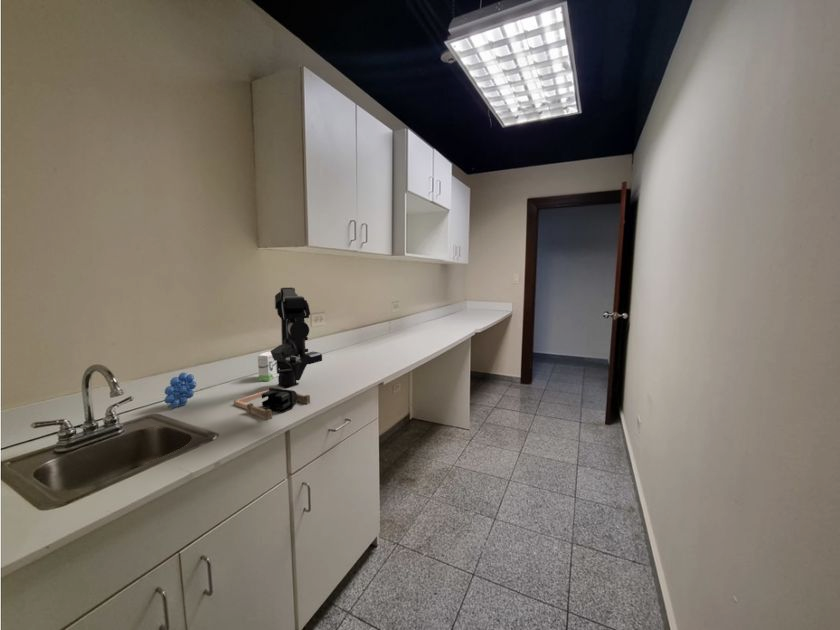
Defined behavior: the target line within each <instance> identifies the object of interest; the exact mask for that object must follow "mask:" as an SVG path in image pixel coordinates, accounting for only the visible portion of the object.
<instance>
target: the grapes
mask: <svg viewBox="0 0 840 630" xmlns="http://www.w3.org/2000/svg"><path fill="white" fill-rule="evenodd" d="M194 379H195V375H193V374H187V372H181V373H180V374H179V375H178V376H174V377H172V378H171V379H170V381H169V384H170V385H168V386H166V387H165V389H164V394H165V395H166V396H165V398H164V403H165V404H168V405H169V406H170V408H172V409H174V408H177V407H178V406H180V407H182V406H185V405H186V404H187V403H188V399H191V398H193V397H194V395H195V391H194V389H195V388H196V387H197V382H196V381H195V380H194Z"/></svg>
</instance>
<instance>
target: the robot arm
mask: <svg viewBox="0 0 840 630" xmlns="http://www.w3.org/2000/svg"><path fill="white" fill-rule="evenodd" d="M309 305H310V304H309V303H308V301H307V300H306V299H305V297H304V296H302V295H298V294H297V293H296V289H295V287H280V290H279V292H277V293H276V294H275V296H274V309H275V310H276V313H277V315H278V316H279V318H280V324H281V325H280V326H281V327H280V329H281V330H280V331H281V334H280V335H281V344H280V345H278V346H276V347H275V348H273V349H272V350H270V352H271V354H272V358H273V359H274V360H276V371H277V374H279V376H277V378H278V379H277V380H278V383H277V384H276V386H277V387H281V388H283V389H288V388H292V387H294V386H298V385H299V384H300V383H299V382H297V381H300V380H301V378H302V376H303V374H304V372H305V370H306V368H307V365H311V364H312V365H313V364H315V363H319V362H322V361H323V354H322V353H321V352H317V351H309V349H308V348H306V341H308V339H309V338H308V336H309V333H310V327H309V325H308V324H307V323H306V321H305V319H309V318H310V315H311V311H310V306H309Z"/></svg>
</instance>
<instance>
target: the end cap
mask: <svg viewBox="0 0 840 630" xmlns="http://www.w3.org/2000/svg"><path fill="white" fill-rule="evenodd" d="M268 390H269V391H268V392H265V393H263V394H262V397H261V399H264V398H267V399H266V400H263V401H261V404H262V407H263V408H262V409H265V410H267V409H270V410H271V412H273V413H279V414H284V413H287V412H288V411H290V410H292V409H293V408H294V407H295V405H296V404H297V402H298V401H297V394H298V393H297V392H296V391H295V390H293V389H291V390H290V389H286V388H276V387H269V388H268Z"/></svg>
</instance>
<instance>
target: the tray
mask: <svg viewBox="0 0 840 630" xmlns="http://www.w3.org/2000/svg"><path fill="white" fill-rule="evenodd" d="M268 391H269V389H267V390H264V391H260V392H257V393H255V394H251V395H248V396H244V397H242V398H238V399H236V400H233V405H234V406H235V407H239V408H241V409H244V410H247V404H248V403H247V402H251V401H253V400H257V399H259V398H262V394H263V393H265V392H268Z"/></svg>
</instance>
